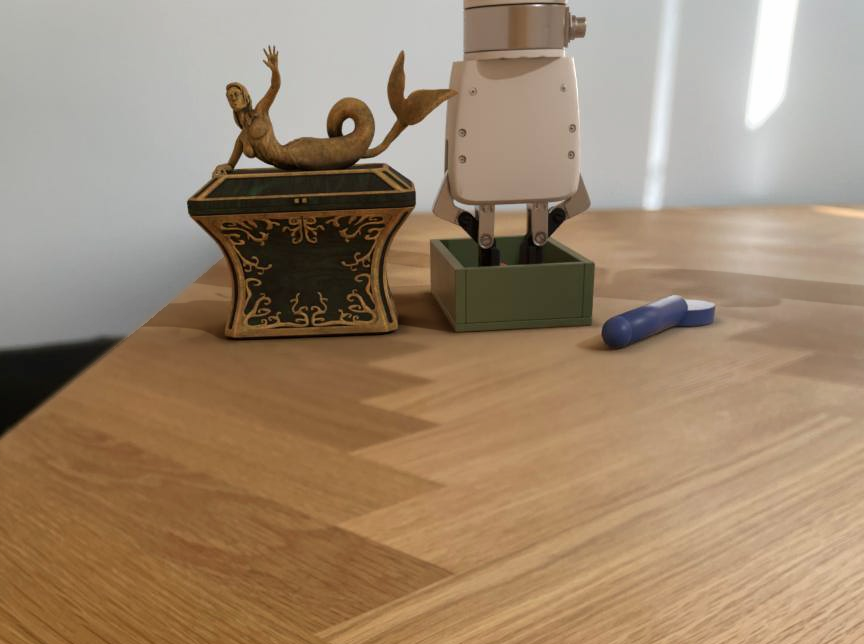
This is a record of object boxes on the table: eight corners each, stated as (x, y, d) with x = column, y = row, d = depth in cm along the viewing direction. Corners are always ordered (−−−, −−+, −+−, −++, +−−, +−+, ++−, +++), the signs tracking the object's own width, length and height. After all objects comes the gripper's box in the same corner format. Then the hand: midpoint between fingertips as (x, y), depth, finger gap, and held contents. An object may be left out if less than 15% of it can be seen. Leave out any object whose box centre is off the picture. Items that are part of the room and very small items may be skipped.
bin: (544, 286, 97) (545, 233, 95) (591, 325, 81) (595, 262, 79) (430, 292, 97) (429, 239, 95) (455, 332, 80) (455, 269, 78)
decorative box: (200, 344, 80) (165, 48, 71) (219, 319, 88) (190, 53, 79) (462, 334, 79) (461, 35, 70) (455, 310, 88) (453, 41, 79)
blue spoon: (667, 313, 84) (670, 284, 83) (723, 318, 81) (726, 288, 80) (579, 348, 74) (581, 316, 73) (639, 355, 71) (642, 321, 70)
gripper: (608, 36, 81) (594, 285, 89) (402, 43, 80) (407, 294, 88) (635, 31, 74) (617, 300, 82) (410, 39, 73) (415, 310, 82)
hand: (509, 295), depth 85 cm, fingers closed
